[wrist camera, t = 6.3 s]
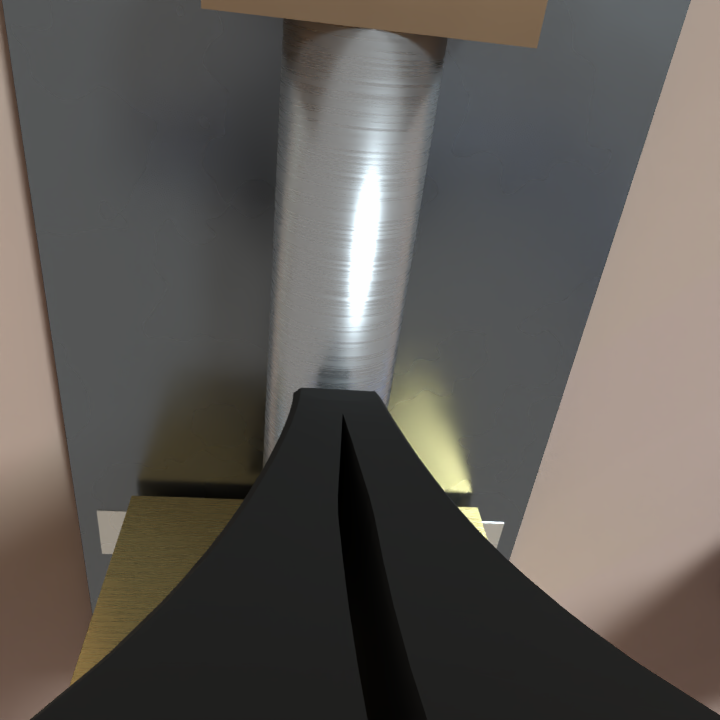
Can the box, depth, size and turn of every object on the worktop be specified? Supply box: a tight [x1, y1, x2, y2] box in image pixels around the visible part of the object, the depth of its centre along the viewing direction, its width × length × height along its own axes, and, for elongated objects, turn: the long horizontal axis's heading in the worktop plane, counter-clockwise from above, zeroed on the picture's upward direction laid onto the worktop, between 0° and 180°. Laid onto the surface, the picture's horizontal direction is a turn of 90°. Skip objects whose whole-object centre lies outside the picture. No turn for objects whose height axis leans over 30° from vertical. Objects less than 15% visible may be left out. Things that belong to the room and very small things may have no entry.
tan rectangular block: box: [69, 496, 488, 687], centre depth 16 cm, size 9×4×6 cm, turn 84°
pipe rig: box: [2, 0, 691, 614], centre depth 15 cm, size 12×22×4 cm, turn 174°
